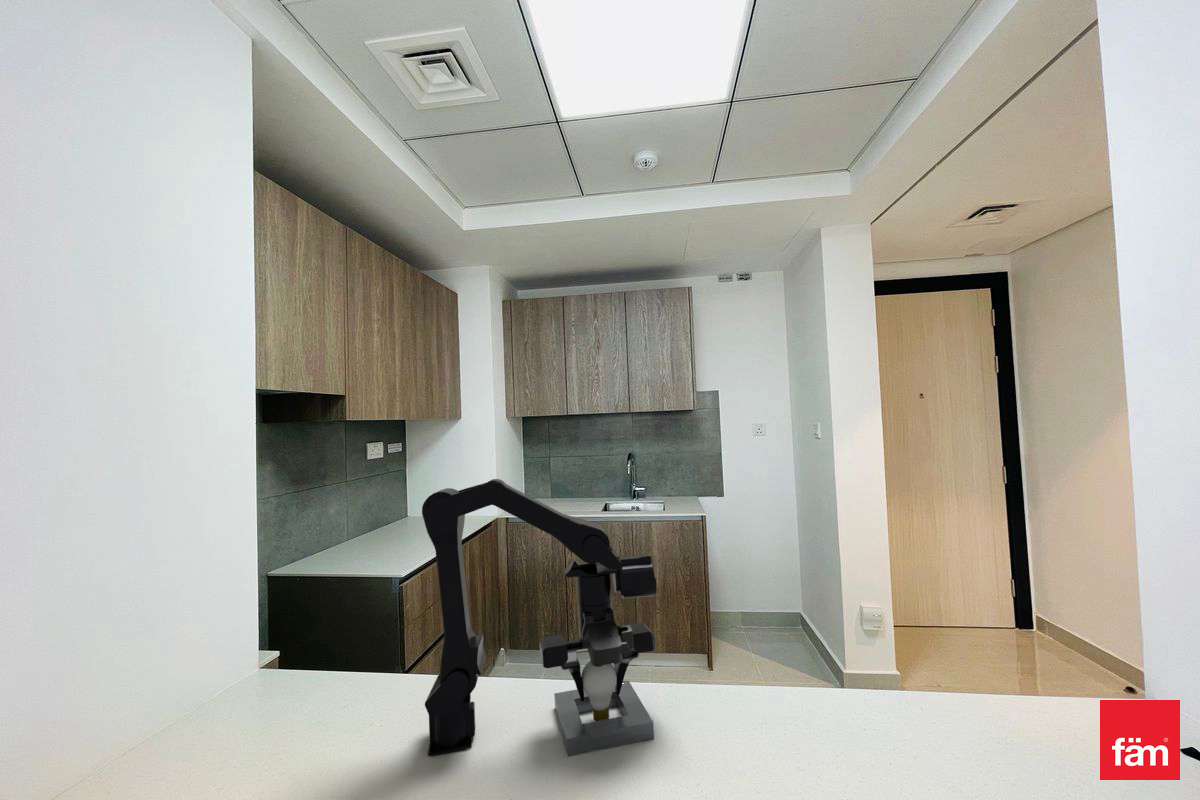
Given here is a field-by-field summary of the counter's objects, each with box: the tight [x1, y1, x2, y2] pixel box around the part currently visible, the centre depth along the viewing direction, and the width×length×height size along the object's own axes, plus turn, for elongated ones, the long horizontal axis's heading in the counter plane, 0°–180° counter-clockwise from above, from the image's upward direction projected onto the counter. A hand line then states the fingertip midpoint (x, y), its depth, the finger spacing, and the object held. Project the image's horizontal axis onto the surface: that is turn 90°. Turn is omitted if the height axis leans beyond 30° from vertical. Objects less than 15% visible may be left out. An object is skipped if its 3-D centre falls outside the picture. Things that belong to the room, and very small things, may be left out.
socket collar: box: [554, 679, 655, 757], centre depth 80 cm, size 14×14×2 cm
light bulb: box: [581, 660, 617, 722], centre depth 80 cm, size 6×6×10 cm
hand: (600, 697), depth 80 cm, fingers closed on light bulb, 6 cm apart
